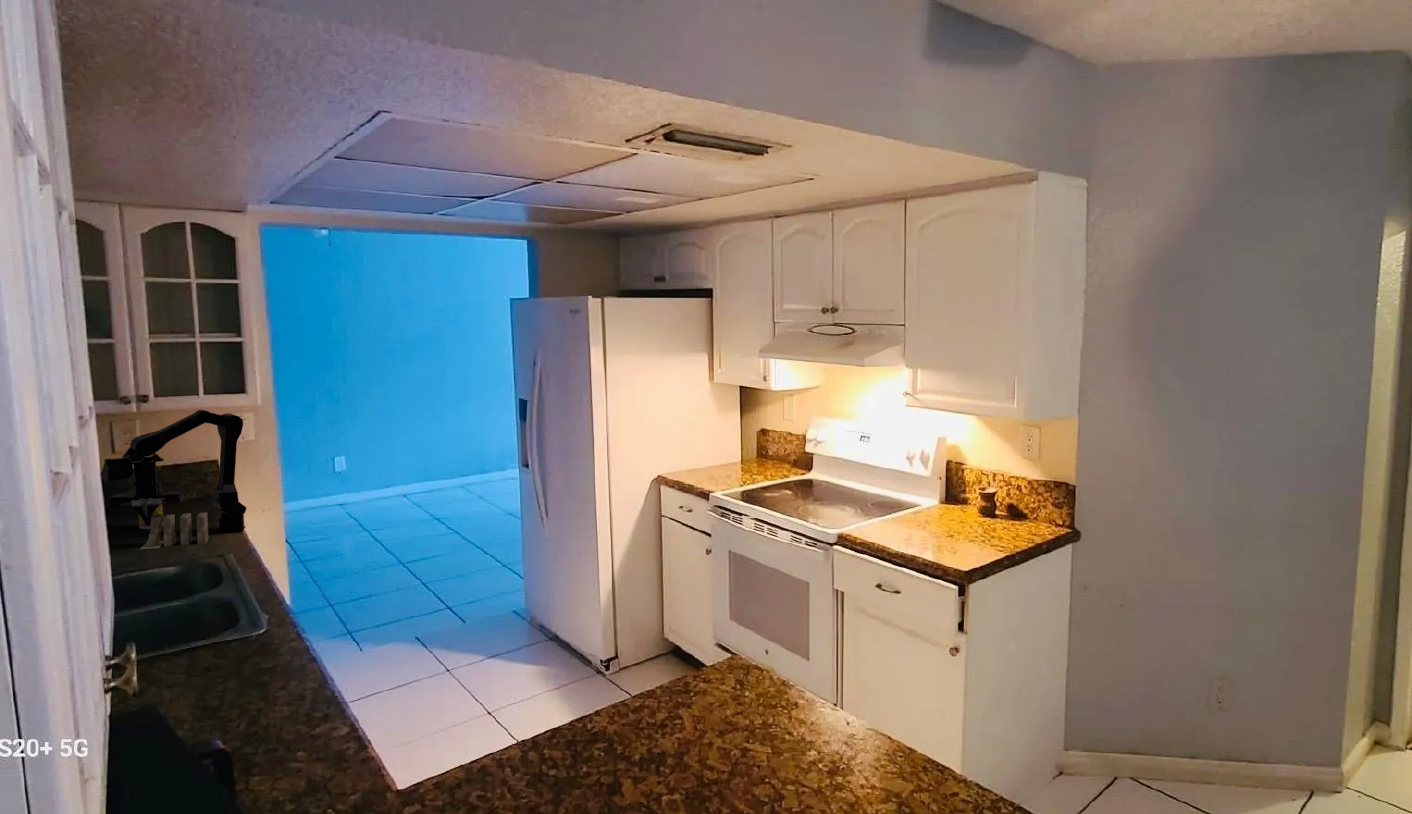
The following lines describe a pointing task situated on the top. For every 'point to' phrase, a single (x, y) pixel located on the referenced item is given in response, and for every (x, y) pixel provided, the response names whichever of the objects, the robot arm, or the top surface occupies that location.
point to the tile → (155, 530)
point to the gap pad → (152, 546)
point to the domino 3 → (202, 528)
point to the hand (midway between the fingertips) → (148, 525)
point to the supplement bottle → (157, 511)
